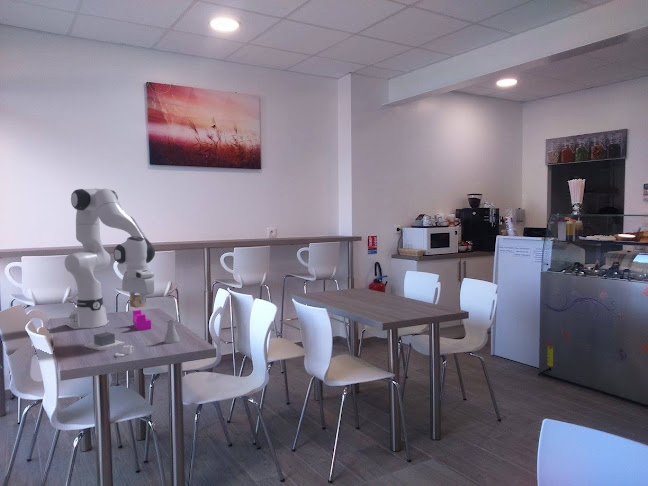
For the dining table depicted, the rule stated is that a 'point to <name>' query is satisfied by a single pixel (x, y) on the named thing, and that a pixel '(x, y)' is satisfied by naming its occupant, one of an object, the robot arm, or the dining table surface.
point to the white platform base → (104, 341)
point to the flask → (171, 333)
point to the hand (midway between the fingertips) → (138, 302)
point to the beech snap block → (136, 301)
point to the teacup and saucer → (125, 351)
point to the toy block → (140, 321)
